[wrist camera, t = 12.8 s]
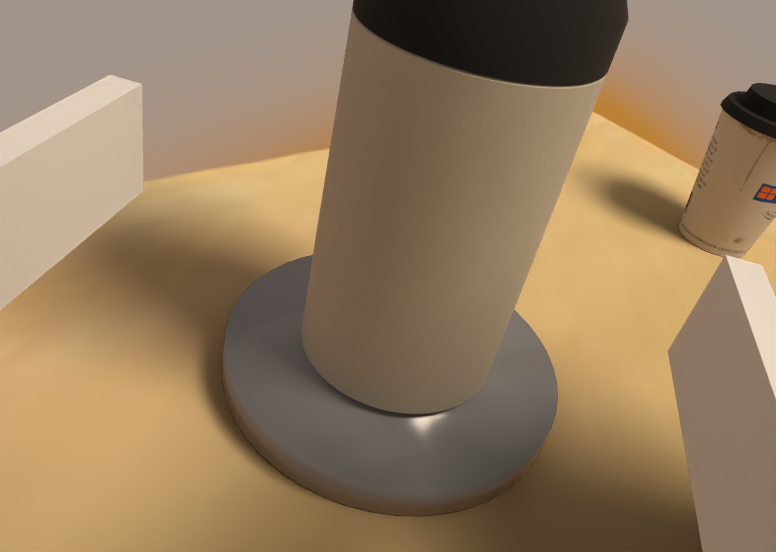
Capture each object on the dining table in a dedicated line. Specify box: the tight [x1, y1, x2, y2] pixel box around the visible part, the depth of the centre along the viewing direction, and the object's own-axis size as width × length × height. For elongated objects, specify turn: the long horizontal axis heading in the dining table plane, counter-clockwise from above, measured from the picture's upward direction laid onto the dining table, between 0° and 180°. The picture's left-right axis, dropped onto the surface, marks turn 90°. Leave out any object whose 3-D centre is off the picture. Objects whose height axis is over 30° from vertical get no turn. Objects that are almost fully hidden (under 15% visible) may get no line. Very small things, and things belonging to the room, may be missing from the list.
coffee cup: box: [679, 83, 776, 258], centre depth 43 cm, size 7×7×10 cm
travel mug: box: [301, 0, 628, 414], centre depth 23 cm, size 8×8×18 cm
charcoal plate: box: [222, 255, 558, 516], centre depth 29 cm, size 14×14×2 cm
